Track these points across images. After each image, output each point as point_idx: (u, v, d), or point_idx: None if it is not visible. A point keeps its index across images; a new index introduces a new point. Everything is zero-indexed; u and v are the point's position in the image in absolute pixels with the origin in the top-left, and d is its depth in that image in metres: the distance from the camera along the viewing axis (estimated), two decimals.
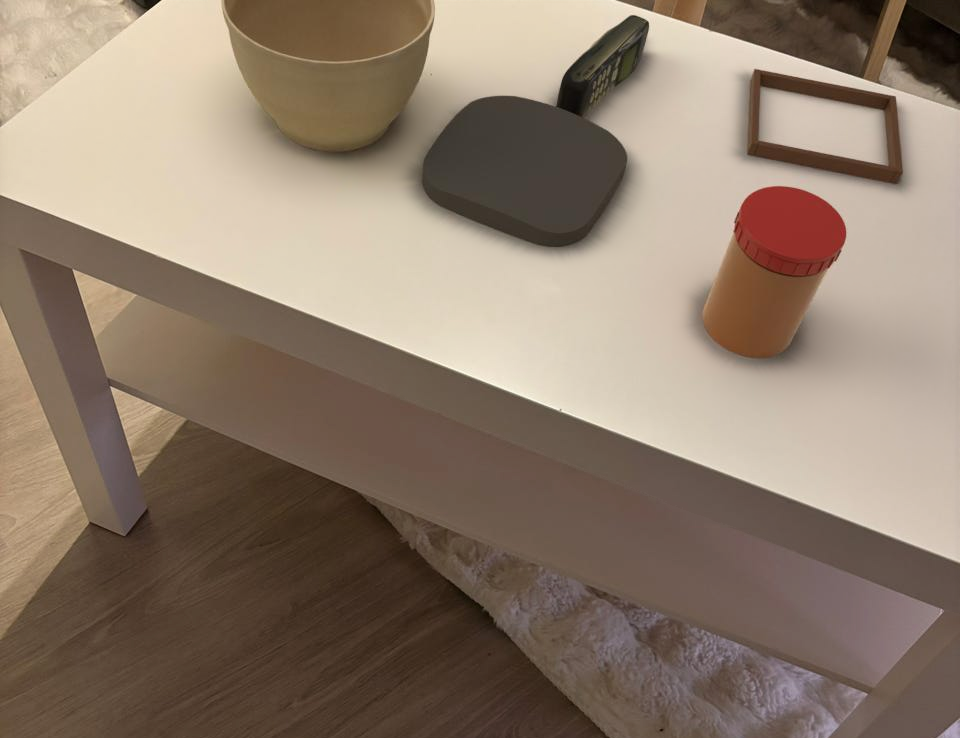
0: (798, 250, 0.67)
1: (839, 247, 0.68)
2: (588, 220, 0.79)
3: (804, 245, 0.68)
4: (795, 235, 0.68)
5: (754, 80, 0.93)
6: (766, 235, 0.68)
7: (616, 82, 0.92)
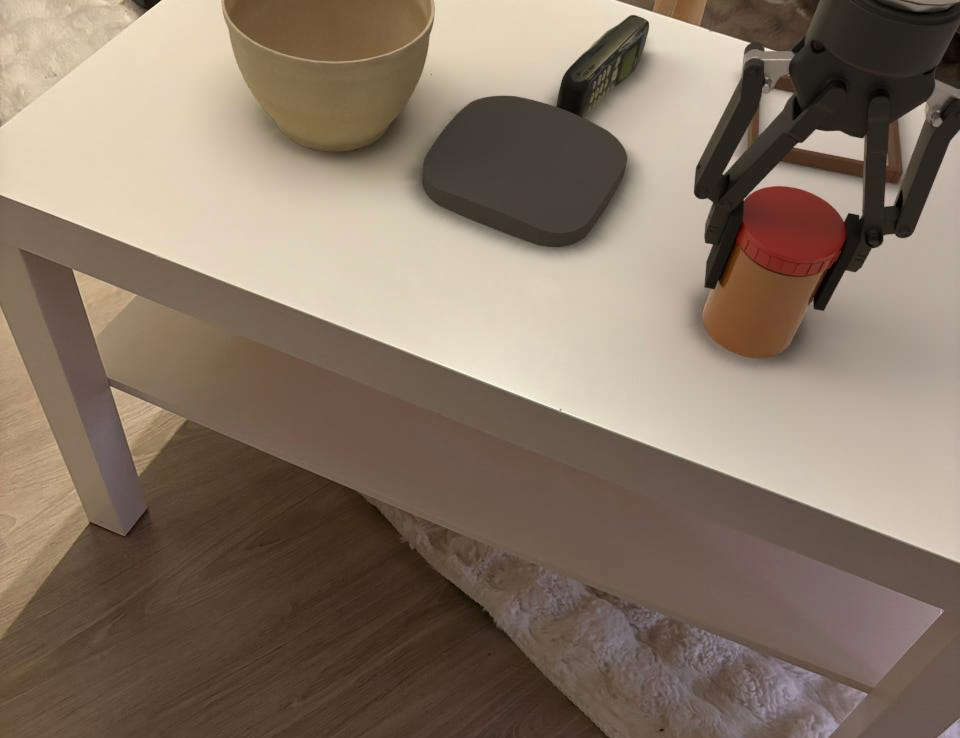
0: (798, 250, 0.67)
1: (839, 247, 0.68)
2: (588, 220, 0.79)
3: (804, 245, 0.68)
4: (795, 235, 0.68)
5: None
6: (766, 235, 0.68)
7: (616, 82, 0.92)
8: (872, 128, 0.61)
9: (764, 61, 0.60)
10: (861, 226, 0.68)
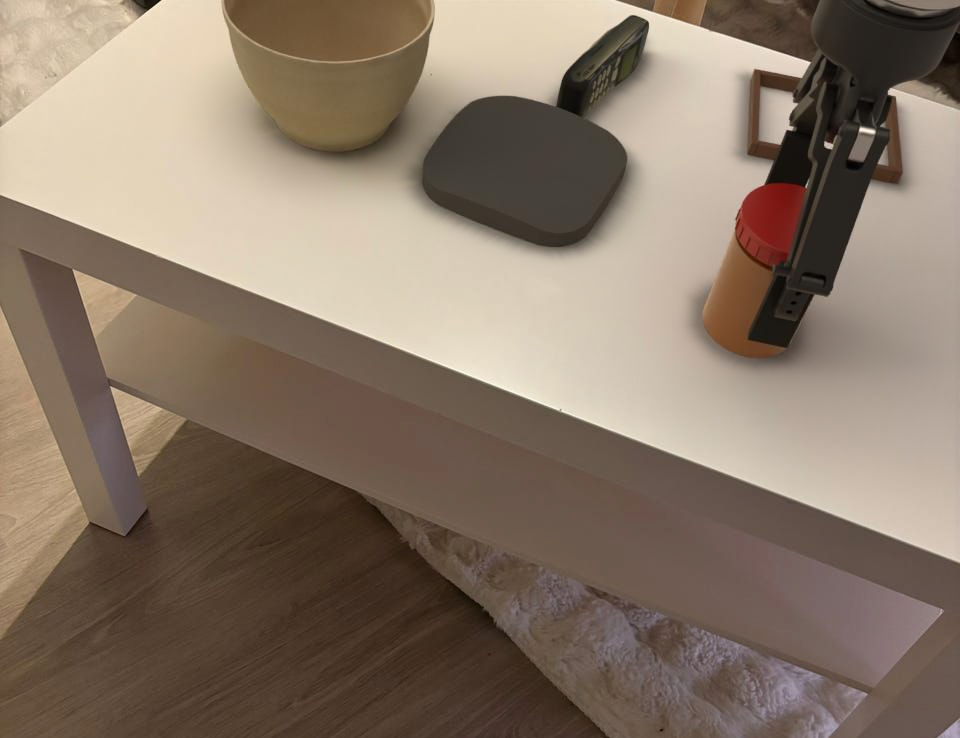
0: None
1: None
2: (588, 220, 0.79)
3: None
4: None
5: (754, 80, 0.93)
6: None
7: (616, 82, 0.92)
8: None
9: None
10: (809, 131, 0.71)
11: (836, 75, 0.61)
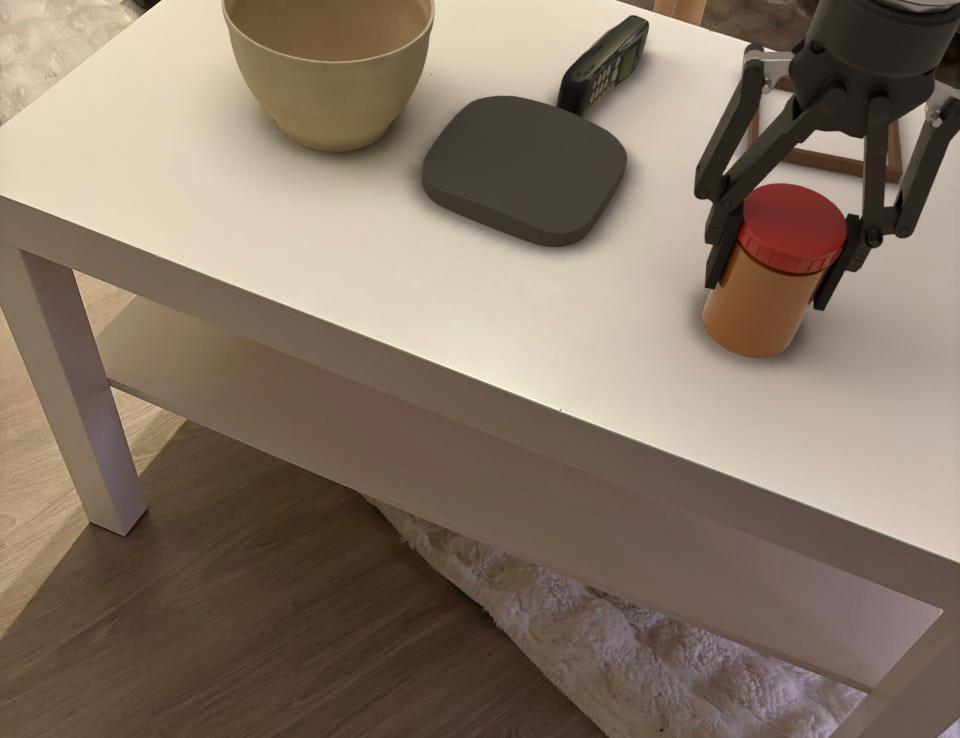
0: (836, 223, 0.69)
1: (819, 194, 0.70)
2: (588, 220, 0.79)
3: (827, 217, 0.69)
4: (815, 221, 0.69)
5: None
6: (824, 242, 0.68)
7: (616, 82, 0.92)
8: (872, 128, 0.61)
9: (764, 62, 0.60)
10: (861, 226, 0.68)
11: None
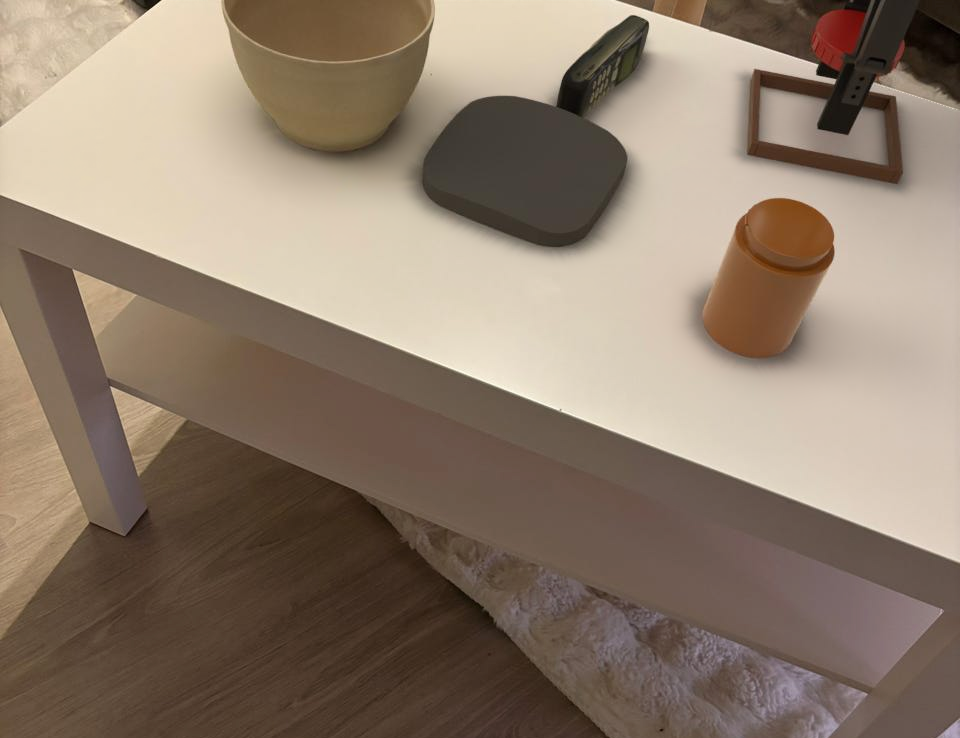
0: (856, 15, 0.85)
1: (823, 15, 0.85)
2: (588, 220, 0.79)
3: (851, 18, 0.85)
4: (859, 25, 0.85)
5: (754, 80, 0.93)
6: None
7: (616, 82, 0.92)
8: None
9: None
10: (865, 1, 0.86)
11: None
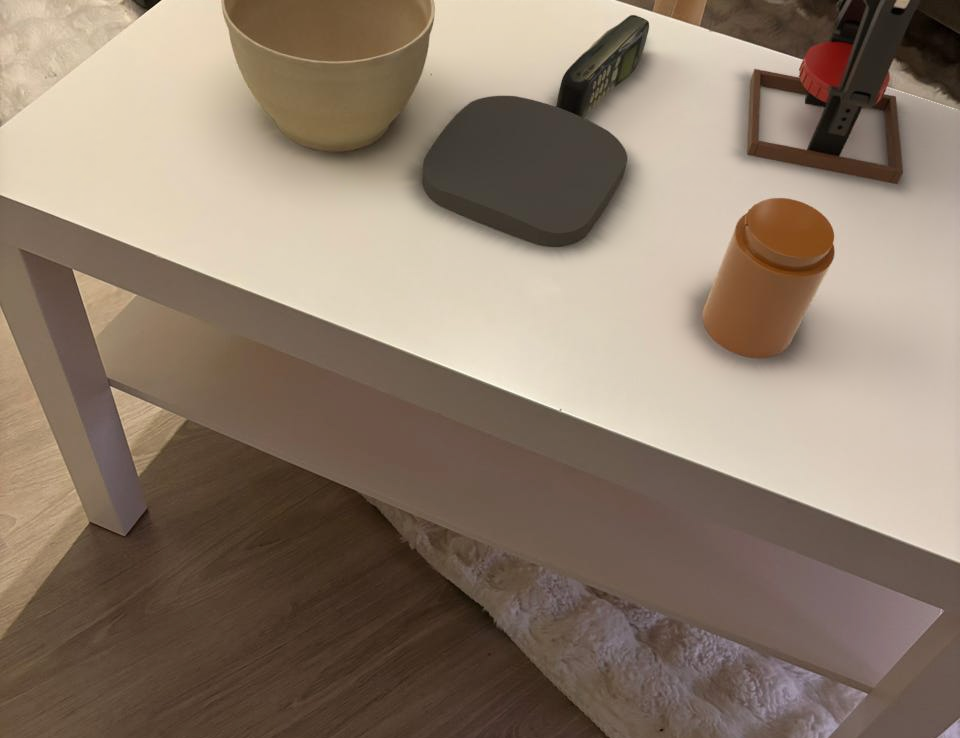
0: (843, 47, 0.88)
1: (811, 48, 0.87)
2: (588, 220, 0.79)
3: (838, 50, 0.88)
4: (845, 57, 0.87)
5: (754, 80, 0.93)
6: None
7: (616, 82, 0.92)
8: None
9: None
10: (851, 33, 0.88)
11: None
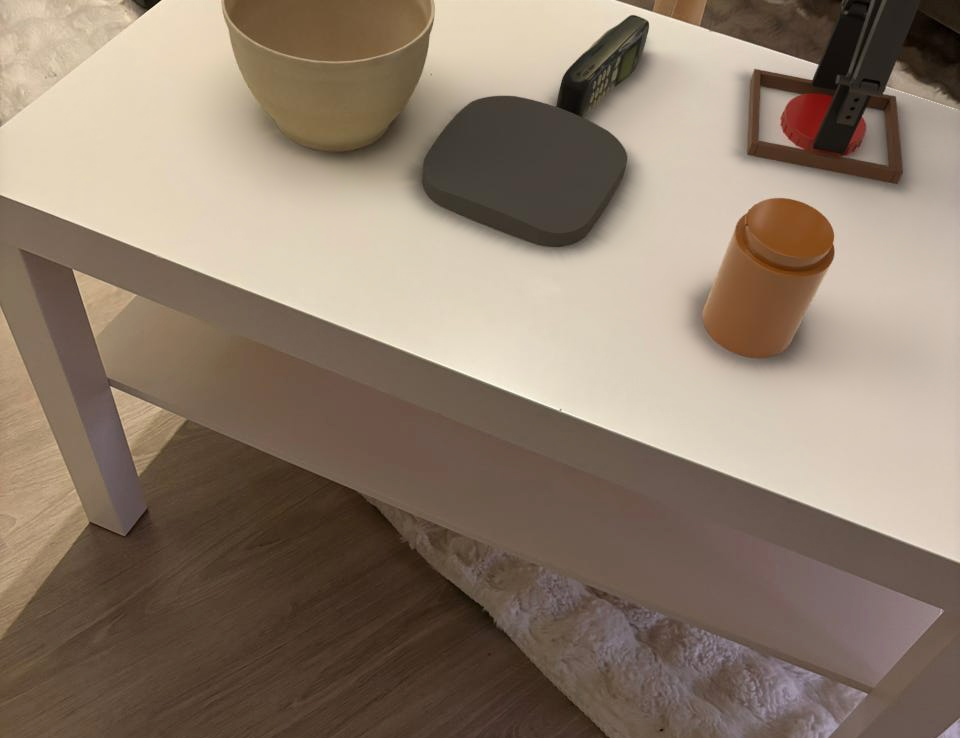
0: (821, 99, 0.92)
1: (791, 100, 0.92)
2: (588, 220, 0.79)
3: (817, 102, 0.92)
4: (824, 108, 0.91)
5: (754, 80, 0.93)
6: None
7: (616, 82, 0.92)
8: None
9: None
10: (859, 13, 0.87)
11: None
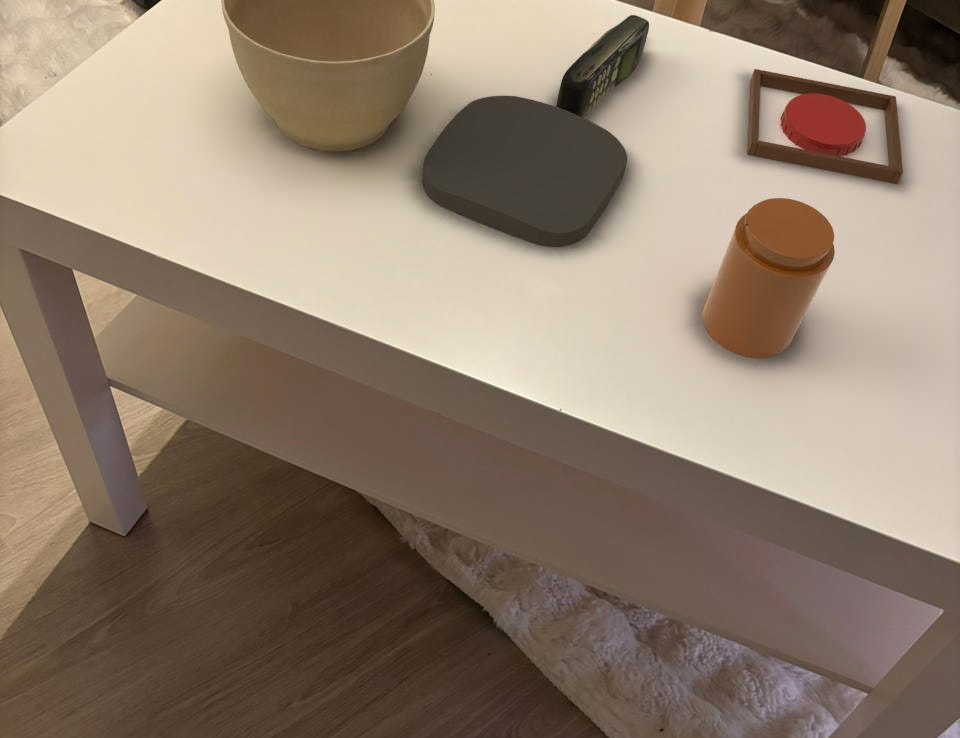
0: (821, 99, 0.92)
1: (791, 100, 0.92)
2: (588, 220, 0.79)
3: (817, 102, 0.92)
4: (824, 108, 0.91)
5: (754, 80, 0.93)
6: (845, 109, 0.92)
7: (616, 82, 0.92)
8: None
9: None
10: None
11: None
